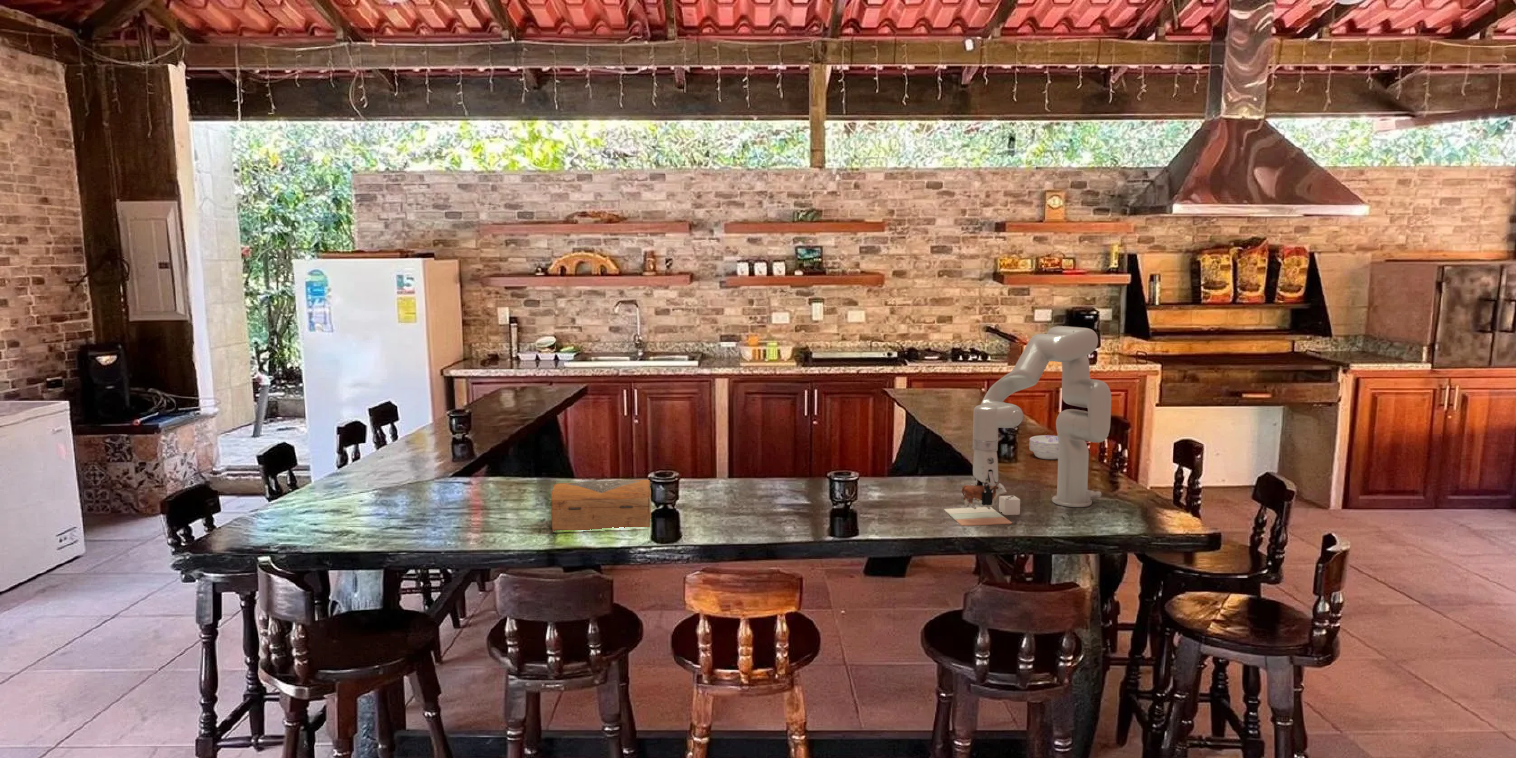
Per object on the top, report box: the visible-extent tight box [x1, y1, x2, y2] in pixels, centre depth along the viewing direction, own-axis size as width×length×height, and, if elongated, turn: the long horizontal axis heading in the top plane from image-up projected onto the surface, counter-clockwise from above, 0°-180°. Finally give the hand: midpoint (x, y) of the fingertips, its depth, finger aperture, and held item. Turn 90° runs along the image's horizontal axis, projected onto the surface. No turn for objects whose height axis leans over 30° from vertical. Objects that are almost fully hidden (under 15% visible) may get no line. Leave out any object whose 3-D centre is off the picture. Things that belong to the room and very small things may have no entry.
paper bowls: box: [1028, 434, 1059, 460], centre depth 362 cm, size 15×15×8 cm
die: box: [998, 495, 1021, 516], centre depth 284 cm, size 5×5×5 cm
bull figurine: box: [961, 482, 1007, 509], centre depth 273 cm, size 4×13×8 cm, turn 80°
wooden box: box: [550, 479, 652, 531], centre depth 276 cm, size 30×16×14 cm, turn 95°
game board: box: [943, 506, 1013, 527], centre depth 280 cm, size 16×18×1 cm
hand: (983, 501), depth 273 cm, fingers closed on bull figurine, 4 cm apart
